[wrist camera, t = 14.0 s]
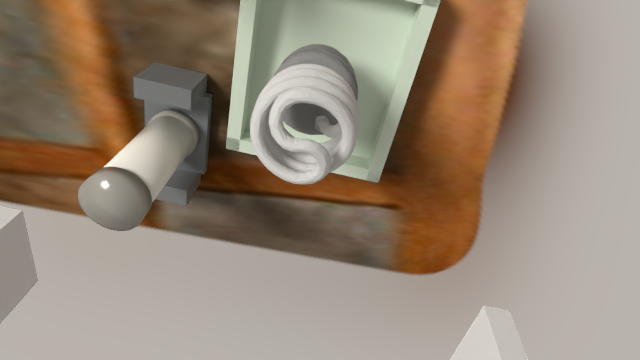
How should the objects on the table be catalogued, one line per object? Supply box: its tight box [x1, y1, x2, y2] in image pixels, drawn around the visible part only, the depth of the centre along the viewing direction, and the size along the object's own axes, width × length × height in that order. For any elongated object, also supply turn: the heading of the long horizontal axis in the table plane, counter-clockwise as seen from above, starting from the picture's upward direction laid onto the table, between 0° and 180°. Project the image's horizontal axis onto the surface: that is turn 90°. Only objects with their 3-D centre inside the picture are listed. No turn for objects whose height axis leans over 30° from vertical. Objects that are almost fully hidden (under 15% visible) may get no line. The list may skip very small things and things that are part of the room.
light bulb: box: [250, 44, 359, 185], centre depth 25 cm, size 6×6×12 cm
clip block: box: [133, 62, 213, 205], centre depth 28 cm, size 5×27×4 cm, turn 168°
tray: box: [226, 0, 441, 183], centre depth 30 cm, size 12×14×2 cm
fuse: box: [78, 109, 200, 231], centre depth 29 cm, size 4×4×10 cm
